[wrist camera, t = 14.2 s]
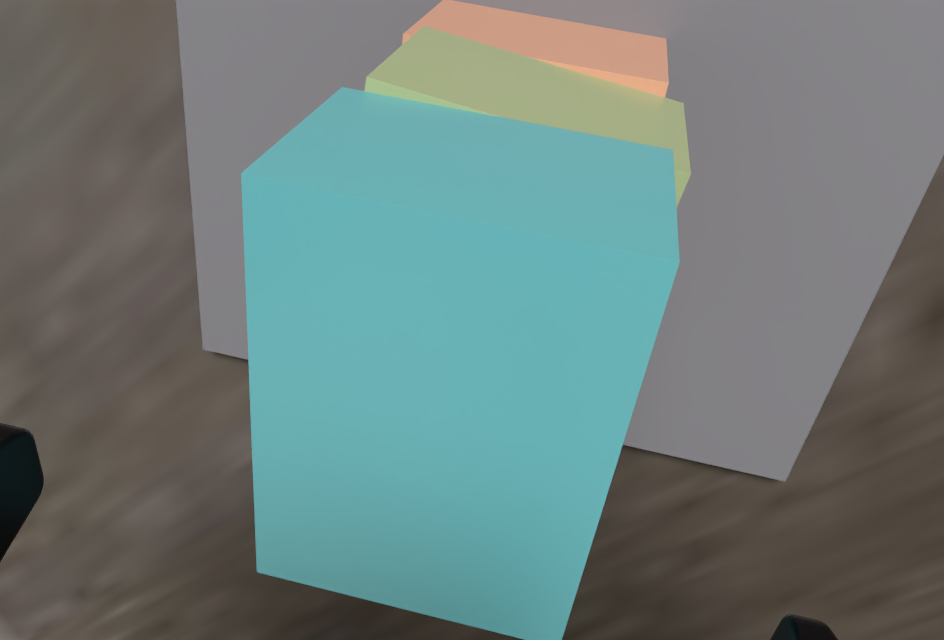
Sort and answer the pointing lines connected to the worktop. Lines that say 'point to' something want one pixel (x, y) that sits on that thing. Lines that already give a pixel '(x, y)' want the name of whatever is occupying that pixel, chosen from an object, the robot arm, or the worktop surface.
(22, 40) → the worktop surface
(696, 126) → the baseplate
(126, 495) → the worktop surface
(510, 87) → the olive brick
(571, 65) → the terracotta brick
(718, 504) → the worktop surface
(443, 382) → the teal brick
